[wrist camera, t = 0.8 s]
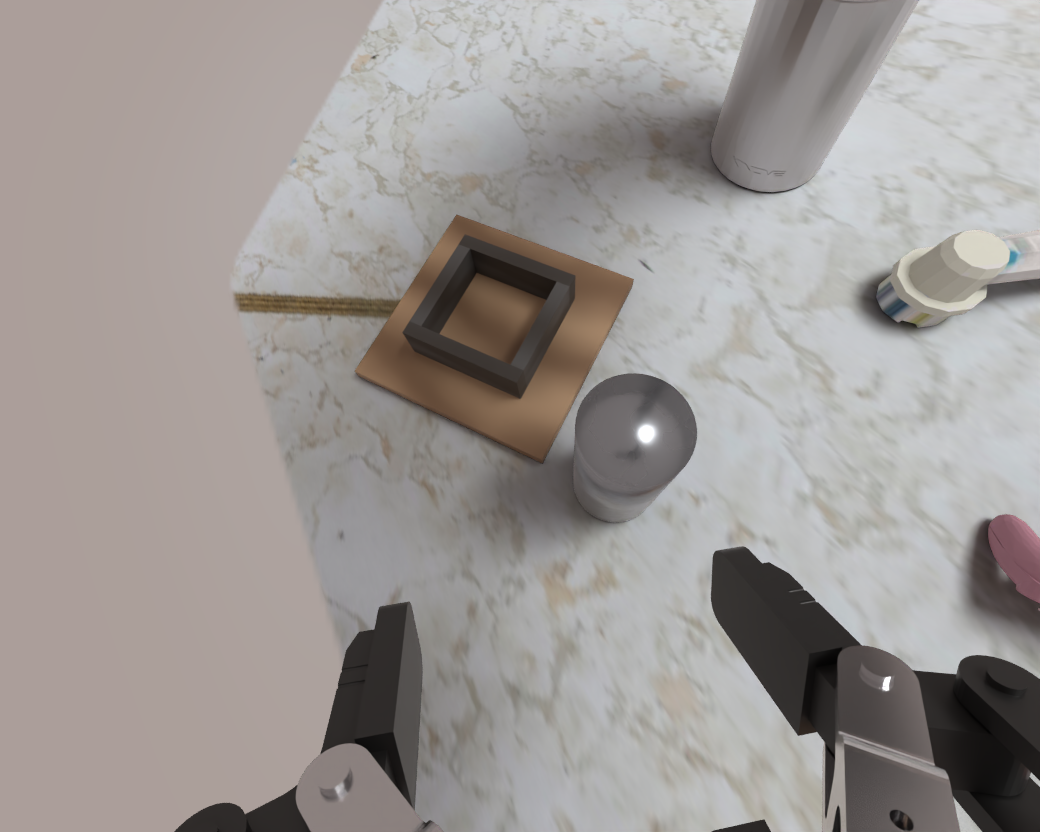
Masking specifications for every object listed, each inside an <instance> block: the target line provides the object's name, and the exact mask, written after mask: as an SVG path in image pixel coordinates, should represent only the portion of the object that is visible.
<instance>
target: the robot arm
mask: <svg viewBox="0 0 1040 832" xmlns="http://www.w3.org/2000/svg"><path fill="white" fill-rule="evenodd" d="M918 1H919V0H756V3H755V6H754V10H753V13H752V16H751V19H750V22H749V25H748V28H747V32H746V35H745V38H744V41H743V44H742V47H741V50H740V53H739V57H738V60H737V63H736V66H735V69H734V72H733V75H732V79H731V82H730V85H729V88H728V91H727V94H726V97H725V100H724V103H723V106H722V110H721V113H720V116H719V119H718V122H717V125H716V128H715V132H714V135H713V138H712V143H711V155H712V158H713V160H714V163H715V165H716V166H717V168H718V169H719V170H720V172H721V173H722V174H724V175H725V176H726V177H727V178H728V179H729V180H731V181H733V182H734V183H736V184H738V185H740V186H743V187H745V188H748V189H752V190H757V191H764V192H777V191H785V190H789V189H793V188H796V187H798V186H800V185H802V184H804V183H806V182H807V181H809V180H810V179H811V178H812V177H813V176H814V175H815V174H816V173H817V172H818V170H819V169H820V167H821V166H822V164H823V162H824V161H825V159H826V157H827V156H828V154H829V152H830V150H831V149H832V147H833V145H834V144H835V142H836V140H837V139H838V137H839V135H840V134H841V132H842V130H843V129H844V127H845V126H846V124H847V122H848V120H849V119H850V117H851V115H852V114H853V112H854V110H855V109H856V107H857V105H858V103H859V102H860V100H861V98H862V97H863V95H864V93H865V92H866V90H867V88H868V86H869V85H870V83H871V81H872V80H873V78H874V76H875V75H876V73H877V71H878V69H879V68H880V66H881V64H882V63H883V61H884V59H885V58H886V56H887V54H888V52H889V51H890V49H891V47H892V46H893V44H894V42H895V41H896V39H897V37H898V35H899V34H900V32H901V30H902V29H903V27H904V25H905V24H906V22H907V20H908V18H909V17H910V15H911V13H912V12H913V10H914V8H915V7H916V5H917V3H918ZM711 602H712V607H713V611H714V614H715V616H716V618H717V620H718V622H719V624H720V625H721V626H722V628H723V629H724V631H725V632H726V634H727V635H728V636H729V638H730V639H731V641H732V642H733V644H734V645H735V646H736V648H737V649H738V651H739V652H740V654H741V655H742V656H743V658H744V659H745V661H746V662H747V664H748V665H749V666H750V668H751V669H752V671H753V672H754V674H755V675H756V676H757V678H758V679H759V681H760V682H761V684H762V685H763V686H764V688H765V689H766V691H767V692H768V693H769V695H770V696H771V698H772V699H773V701H774V702H775V703H776V705H777V706H778V708H779V709H780V711H781V712H782V713H783V715H784V716H785V718H786V719H787V721H788V722H789V723H790V725H791V726H792V728H793V729H794V731H795V732H796V733H797V735H798V736H799V735H804V734H809V733H814V732H818V734H819V735H820V736H821V738H822V739H823V740H824V746H823V774H822V832H960V828H959V823H958V818H957V814H956V809H955V804H954V799H953V797H954V798H955V799H956V801H957V802H958V803H959V804H960V805H961V807H962V808H963V809H964V810H965V811H966V813H967V814H968V815H969V816H970V817H971V819H972V820H973V821H974V822H975V823H976V824H977V826H978V827H979V828H980V829H981V830H982V832H1040V787H1039V786H1038V785H1037V784H1036V783H1035V782H1034V781H1033V780H1032V779H1031V778H1030V777H1029V776H1030V774H1031V772H1032V773H1033V774H1034V775H1035V776H1036V777H1037V778H1038V779H1039V780H1040V679H1039V678H1037V677H1036V676H1034V675H1033V674H1032V673H1030V672H1028V671H1027V670H1025V669H1023V668H1021V667H1019V666H1017V665H1015V664H1013V663H1010V662H1008V661H1005V660H1002V659H999V658H995V657H990V656H982V655H975V656H969V657H966V658H964V659H963V660H962V661H961V662H960V664H959V666H958V670H957V674H945V673H934V672H923V671H914V670H912V669H911V668H910V667H909V666H908V665H907V664H905V663H904V662H903V661H902V660H900V659H899V658H897V657H896V656H894V655H892V654H890V653H888V652H886V651H883V650H881V649H877V648H874V647H869V646H862V645H861V644H860V643H859V642H858V641H857V640H856V639H855V638H854V637H853V636H852V635H851V634H850V633H849V632H848V631H847V630H846V629H845V628H844V627H843V626H842V625H841V624H839V623H838V622H837V621H836V620H835V619H834V618H833V617H832V616H831V615H830V614H829V613H828V612H827V611H826V610H825V609H824V608H823V607H822V606H821V605H820V604H819V603H818V602H817V603H816V601H815V599H814V598H813V597H812V596H811V595H810V594H809V593H808V592H807V591H804V589H803V587H802V586H801V585H800V584H799V583H798V582H797V581H796V580H795V579H794V578H793V577H792V576H791V575H790V574H789V573H787V572H785V571H784V570H782V569H780V568H778V567H776V566H775V565H773V564H771V563H769V562H768V563H761V562H760V561H759V560H758V559H757V558H756V557H755V556H754V555H753V554H752V553H751V551H750V550H749V549H747V548H746V547H743V546H742V547H736V548H730V549H724V550H718V551H715V552H714V555H713V565H712V587H711ZM421 692H422V655H421V648H420V644H419V639H418V634H417V629H416V625H415V620H414V615H413V611H412V606H411V603H410V602H404V603H398V604H392V605H386V606H381V607H379V610H378V615H377V620H376V625H375V629H374V630H368V631H363V632H359V633H358V634H357V636H356V637H355V639H354V640H353V642H352V643H351V644H350V646H349V647H348V649H347V650H346V654H345V658H344V662H343V666H342V673H341V674H340V678H339V683H338V689H337V691H336V695H335V699H334V703H333V707H332V711H331V715H330V719H329V723H328V727H327V731H326V735H325V739H324V743H323V747H322V751H321V754H320V755H319V756H318V757H317V758H316V759H314V760H313V761H312V763H311V764H310V765H309V766H308V767H307V768H306V770H305V771H304V773H303V775H302V776H301V778H300V781H299V783H298V785H297V786H295V787H294V788H293V789H291V790H290V791H289V792H287V793H285V794H284V795H282V796H280V797H278V798H276V799H275V800H272V801H270V802H269V803H267V804H265V805H263V806H261V807H259V808H257V809H255V810H253V811H251V812H249V813H247V814H244V812H243V810H242V809H241V808H240V807H239V806H237V805H235V804H232V803H220V804H215V805H212V806H209V807H207V808H205V809H203V810H201V811H199V812H198V813H196V814H194V815H193V816H191V817H190V818H189V819H187V820H186V821H185V822H184V823H183V824H182V825H181V826H179V827H178V829H177V830H176V831H175V832H443V831H442V829H441V828H440V827H439V826H438V825H437V824H436V823H434V822H433V821H431V820H429V821H428V822H427V823H425V822H424V821H422V819H421V818H420V817H419V816H418V815H417V813H416V812H415V794H416V777H417V760H418V743H419V726H420V709H421ZM712 832H771V831H770V829H769V827H768V826H767V824H766V822H765V820H759V821H755V822H750V823H746V824H741V825H737V826H732V827H728V828H723V829H719V830H715V831H712Z"/></svg>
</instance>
